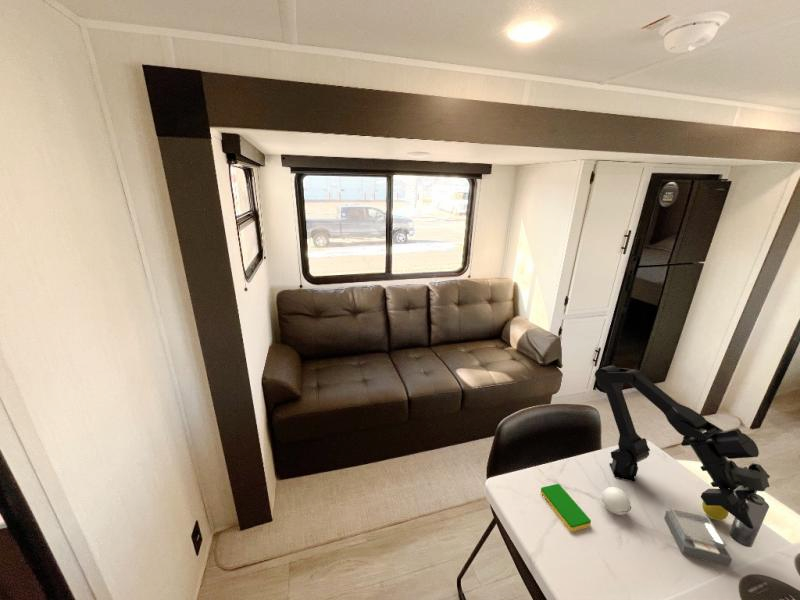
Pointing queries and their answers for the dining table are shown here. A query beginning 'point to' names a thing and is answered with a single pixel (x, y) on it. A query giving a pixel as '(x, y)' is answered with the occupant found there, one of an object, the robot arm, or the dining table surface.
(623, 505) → the white egg
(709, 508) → the lemon
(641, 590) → the dining table surface
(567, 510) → the dish sponge
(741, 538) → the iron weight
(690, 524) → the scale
